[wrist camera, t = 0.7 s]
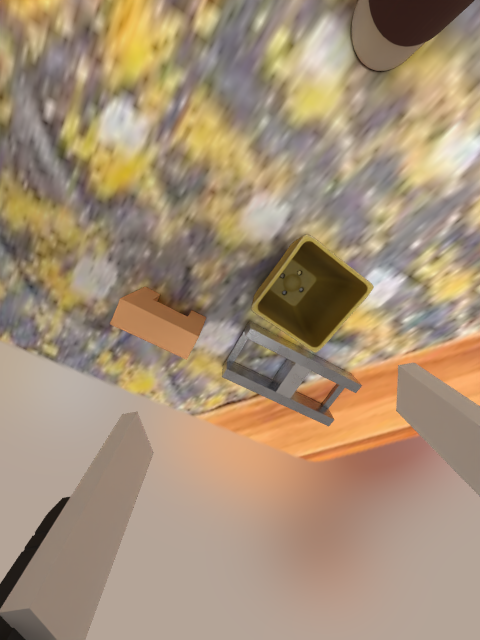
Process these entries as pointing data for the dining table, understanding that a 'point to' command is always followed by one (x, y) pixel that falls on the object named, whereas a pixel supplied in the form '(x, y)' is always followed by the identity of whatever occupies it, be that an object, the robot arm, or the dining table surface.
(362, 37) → the coffee cup
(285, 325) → the flower pot
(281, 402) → the rail
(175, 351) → the brown notched block
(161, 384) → the dining table surface
